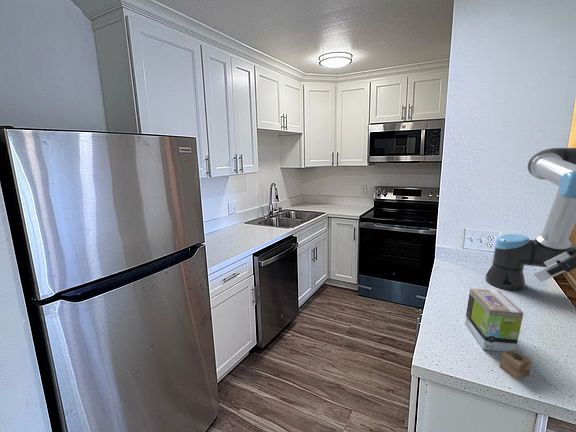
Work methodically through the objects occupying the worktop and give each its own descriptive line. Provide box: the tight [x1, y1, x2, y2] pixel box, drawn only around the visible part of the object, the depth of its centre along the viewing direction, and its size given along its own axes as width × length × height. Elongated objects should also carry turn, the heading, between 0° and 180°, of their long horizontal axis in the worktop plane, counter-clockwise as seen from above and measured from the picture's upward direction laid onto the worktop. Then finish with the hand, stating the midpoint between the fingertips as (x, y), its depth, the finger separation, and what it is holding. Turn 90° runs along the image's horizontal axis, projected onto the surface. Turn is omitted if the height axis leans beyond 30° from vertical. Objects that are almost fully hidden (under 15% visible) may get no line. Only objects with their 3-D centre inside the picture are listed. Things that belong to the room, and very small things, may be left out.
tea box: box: [464, 288, 524, 353], centre depth 100 cm, size 15×10×15 cm
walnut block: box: [499, 349, 533, 380], centre depth 87 cm, size 5×5×5 cm
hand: (542, 271), depth 88 cm, fingers open, 13 cm apart
